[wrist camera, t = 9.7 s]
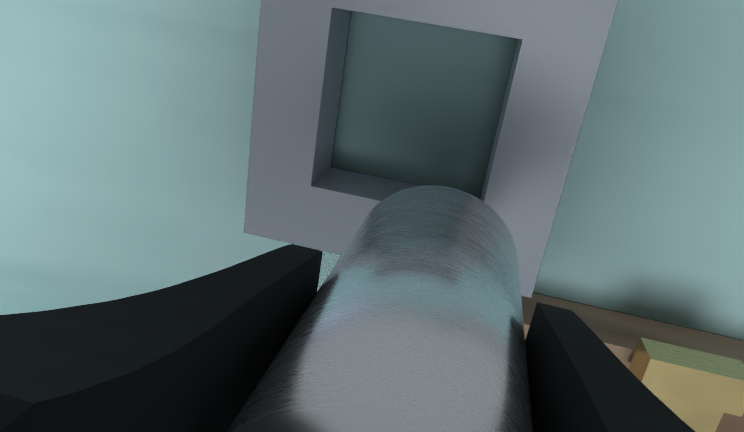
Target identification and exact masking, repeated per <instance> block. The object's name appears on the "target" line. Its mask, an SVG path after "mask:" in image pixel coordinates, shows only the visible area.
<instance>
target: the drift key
mask: <svg viewBox="0 0 744 432" xmlns="http://www.w3.org/2000/svg"><path fill="white" fill-rule="evenodd" d="M629 370H630V371H631V372H632V373H633V374H634V375H635V376H636V377H637V378H638V379H639V380H640V381H641V382H642V383H643V384H644V385H645V386H646V387H647V388H648V389H649V390H650V391H651V392H652V393H653V394H654V395H655V396H656V397H657V398H659V399H660V400H661V401H662V402H663V403H664V404H665V405H666V406H667V407H668V408H669V409H670V410H672V411H673V412H674V413H675V414H676V415H677V416H678V417H679V418H680V419H681V420H683V421H684V422H685V423H686V424H687V425H688V426H690V427H691V428H692V429H693V430H694V431H695V432H715V431H716V429H717V427H718V424H719V422H720V420H721V418H722V416H723V414H724V413H728V414H732V415H736V416H740V417H742V416H743V414H744V364H743V363H742V361H741V360H737V359H732V358H728V357H724V356H719V355H715V354H711V353H706V352H702V351H698V350H693V349H689V348H685V347H681V346H676V345H672V344H668V343H663V342H659V341H655V340H650V339H646V338H642V337H640V340H639V343H638V345H637V348H636V350H635V353H634V356H633V358H632V361H631V363H630V366H629Z"/></svg>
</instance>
